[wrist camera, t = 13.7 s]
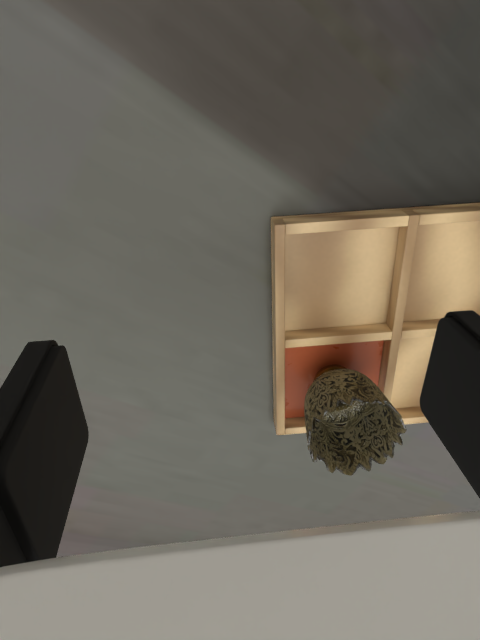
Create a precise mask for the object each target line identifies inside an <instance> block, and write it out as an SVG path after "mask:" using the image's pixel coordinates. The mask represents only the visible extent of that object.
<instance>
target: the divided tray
mask: <svg viewBox="0 0 480 640" xmlns="http://www.w3.org/2000/svg"><path fill="white" fill-rule="evenodd" d="M271 275H272V341H273V408H274V424H275V429H276V434H277V435H284V434H298V433H306V426H305V416H304V402H305V397H306V393H307V391H308V389H309V387H310V386H311V384H312V383H313V380H314V377H315V375H316V373H317V372H318V371H319V370H320V369H321V368H323V367H325V366H327V365H332V364H337V365H341V366H344V367H345V368H347V369H351V370H355V371H358V372H360V373H362V374H364V375H366V376H367V377H368V378H370V379H371V380H372V381H373V382H374V383H375V384H376V385H377V386H378V387H379V389H380V390H381V391H382V392H383V394H384V395H385V396H386V397H387V399H388V400H389V401H390V403H391V404H392V405H393V406H394V408H395V409H396V410H397V411H398V412H399V413H400V415H401V416H402V420H403V422H404V424H415V423H427V422H428V420H427V419H426V417H425V416H424V414H423V413H422V411H421V408H420V396H421V391H422V387H423V383H424V379H425V375H426V371H427V367H428V362H429V358H430V354H431V350H432V346H433V342H434V338H435V333H436V329H437V325H438V322H439V320H440V319H441V318H444V317H445V315H446V314H447V313H448V312H453V311H467V310H473V311H474V312H476V313H477V314H478V315H480V203H466V204H451V205H436V206H422V207H407V208H393V209H378V210H364V211H349V212H335V213H320V214H306V215H291V216H277V217H271Z"/></svg>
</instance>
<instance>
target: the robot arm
mask: <svg viewBox="0 0 480 640" xmlns="http://www.w3.org/2000/svg"><path fill="white" fill-rule="evenodd" d="M420 408H421V411H422V413H423V414H424V416H425V417H426V419H427V420H428V422H429V423H430V425H431V426H432V428H433V429H434V431H435V432H436V434H437V435H438V437H439V438H440V440H441V441H442V443H443V444H444V446H445V447H446V449H447V450H448V452H449V453H450V455H451V456H452V458H453V459H454V461H455V462H456V464H457V465H458V467H459V468H460V470H461V471H462V473H463V474H464V476H465V477H466V479H467V480H468V482H469V483H470V484H471V486H472V487H473V489H474V490H475V492H476V493H477V495H478V496H479V498H480V315H478V314H477V313H476V312H474V311H473V310H467V311H453V312H448V313H447V314H446V315H445V317H444V318H441V319H440V320H439V322H438V325H437V329H436V333H435V338H434V342H433V346H432V350H431V354H430V358H429V362H428V367H427V371H426V375H425V379H424V383H423V387H422V391H421V396H420ZM87 443H88V427H87V423H86V419H85V416H84V412H83V409H82V405H81V401H80V398H79V394H78V390H77V387H76V383H75V380H74V376H73V372H72V369H71V365H70V361H69V358H68V354H67V351H66V348H65V347H64V346H58V344H57V343H56V341H54V340H49V341H35V342H28V344H27V345H26V346H25V348H24V350H23V351H22V353H21V355H20V356H19V358H18V360H17V361H16V363H15V365H14V366H13V368H12V370H11V371H10V373H9V375H8V377H7V378H6V380H5V382H4V383H3V385H2V387H1V388H0V640H480V511H471V512H461V513H451V514H441V515H432V516H422V517H412V518H402V519H392V520H383V521H373V522H364V523H354V524H345V525H335V526H326V527H317V528H307V529H298V530H289V531H280V532H270V533H261V534H252V535H243V536H234V537H225V538H216V539H207V540H198V541H189V542H180V543H172V544H163V545H154V546H145V547H136V548H128V549H120V550H112V551H104V552H97V553H89V554H81V555H73V556H65V557H58V558H56V555H57V552H58V548H59V544H60V541H61V537H62V533H63V530H64V526H65V523H66V519H67V515H68V512H69V508H70V505H71V501H72V497H73V494H74V490H75V487H76V483H77V479H78V476H79V472H80V468H81V465H82V461H83V458H84V454H85V450H86V447H87Z"/></svg>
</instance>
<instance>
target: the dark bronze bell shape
mask: <svg viewBox="0 0 480 640" xmlns="http://www.w3.org/2000/svg"><path fill="white" fill-rule="evenodd" d="M304 416H305V426H306V433H307V440H308V450H309V451H310V454H311V458H312V460H313V462H316V461H317V458H318V459H319V460H320V461H324V462H325V464H326V468H327V470H328V471H330V472H331V473H333V472H334V471H335V470H336V469H337V470H338V471H340V472H341V473H343V474H346V475H353V474H354V473H355V472H356V470H357V469H358V468H359V467H360V465H361V466H362V467H363V468H362V469H364V470H366V471H370V470H371V465H372V464H371V463H370V461H371V460H373V461H375V462H376V463H378V464H384V463H385V462H386V460H387V456H389V457H391V458H393V455H394V447H395V445H394V442H395V443H397V444H400V445H402V439H401V437H400V434H404V433H405V431H406V427H405V424H404V422H403V420H402V416H401V415H400V413H399V412H398V411H397V410H396V409H395V408H394V406H393V405H392V404H391V403H390V401H389V400H388V399H387V397H386V396H385V395H384V394H383V392H382V391H381V390H380V389H379V387H378V386H377V385H376V384H375V383H374V382H373V381H372V380H371V379H370V378H368V377H367V376H366V375H364V374H362V373H360V372H358V371H355V370H351V369H347V368H345V367H344V366H341V365H337V364H332V365H327V366H325V367H323V368H321V369H320V370H319V371H318V372H317V373H316V375H315V377H314V380H313V383H312V384H311V386H310V387H309V389H308V391H307V393H306V397H305V402H304ZM371 458H372V459H371Z"/></svg>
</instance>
